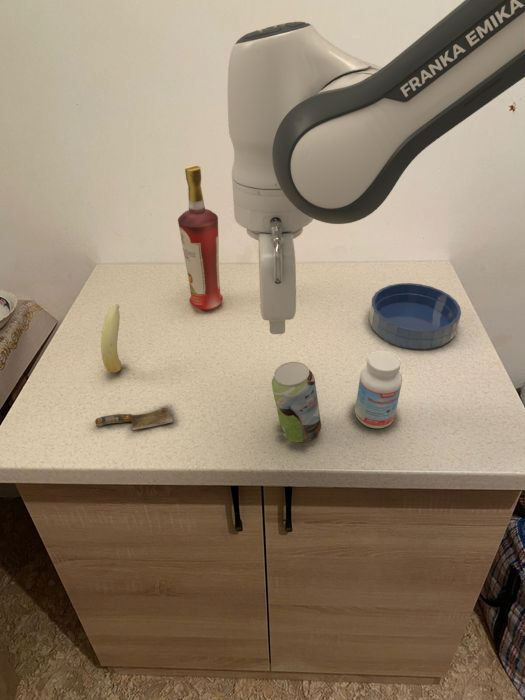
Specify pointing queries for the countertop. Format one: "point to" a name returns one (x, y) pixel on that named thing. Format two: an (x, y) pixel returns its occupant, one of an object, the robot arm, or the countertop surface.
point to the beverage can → (296, 402)
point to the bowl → (414, 316)
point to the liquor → (200, 246)
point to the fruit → (111, 340)
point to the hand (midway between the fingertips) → (275, 308)
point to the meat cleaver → (138, 419)
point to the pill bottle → (379, 390)
